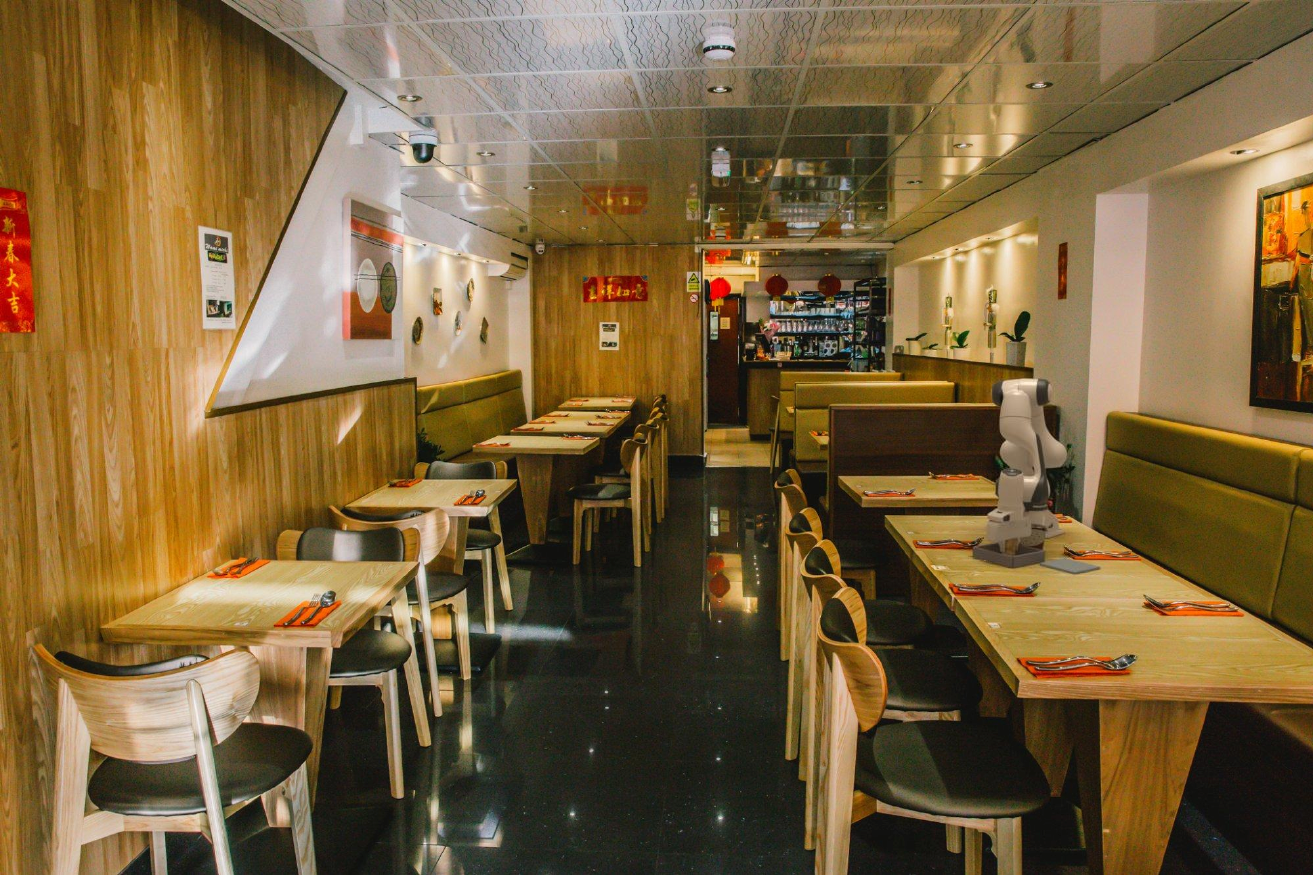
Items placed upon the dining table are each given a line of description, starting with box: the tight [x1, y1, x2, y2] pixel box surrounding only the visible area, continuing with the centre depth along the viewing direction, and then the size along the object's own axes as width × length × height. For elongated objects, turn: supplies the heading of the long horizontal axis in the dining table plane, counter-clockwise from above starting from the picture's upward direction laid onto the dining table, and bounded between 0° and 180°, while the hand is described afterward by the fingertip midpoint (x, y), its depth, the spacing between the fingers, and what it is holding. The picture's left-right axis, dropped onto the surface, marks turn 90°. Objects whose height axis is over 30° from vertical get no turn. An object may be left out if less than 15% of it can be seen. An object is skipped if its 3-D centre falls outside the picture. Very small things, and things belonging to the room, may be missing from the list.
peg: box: [1001, 538, 1016, 556], centre depth 323 cm, size 4×4×8 cm
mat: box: [1039, 557, 1101, 575], centre depth 313 cm, size 14×14×1 cm
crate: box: [972, 542, 1046, 569], centre depth 324 cm, size 18×18×4 cm
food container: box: [1019, 523, 1048, 550], centre depth 337 cm, size 12×6×10 cm, turn 84°
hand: (1008, 550), depth 323 cm, fingers closed on peg, 4 cm apart
